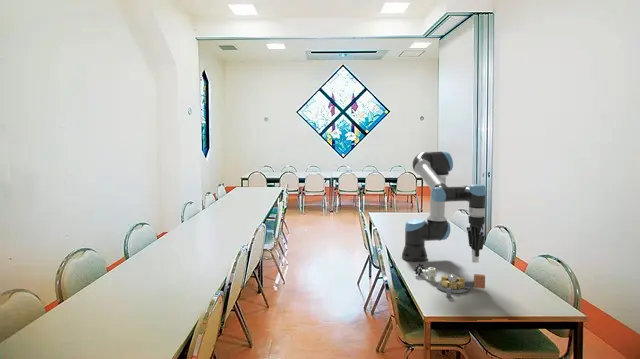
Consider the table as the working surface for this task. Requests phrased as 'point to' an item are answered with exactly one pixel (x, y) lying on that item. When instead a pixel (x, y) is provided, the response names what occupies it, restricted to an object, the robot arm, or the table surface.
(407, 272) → the table surface
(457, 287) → the tan and copper piece
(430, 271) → the valve
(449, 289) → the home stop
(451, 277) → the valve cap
